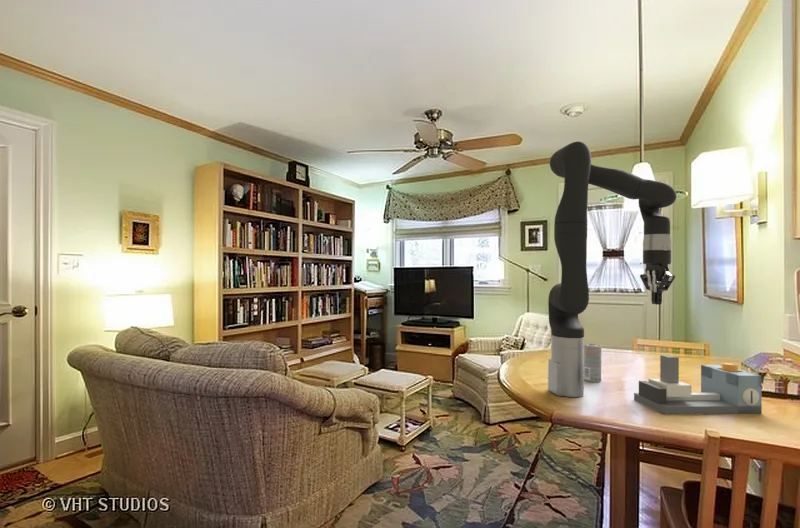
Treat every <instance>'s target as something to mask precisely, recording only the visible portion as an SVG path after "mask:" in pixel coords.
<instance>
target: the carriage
mask: <svg viewBox="0 0 800 528" xmlns="http://www.w3.org/2000/svg"><path fill="white" fill-rule="evenodd" d="M659 356H660V357H659V359H660V360H659V361H660V362H659V363H660V365H659V369H660V371H659V372H660V373H659V376H660V377H659V378H654V377H653V378H648V382H650V383H652V384H655V385H657V386H660V387H662V388H665V389H666V397H692V393H693V392H692V388H693V387H692V385H691V384H689V383H686V382H683V381H680V380H679V377H680V376H679V375H680V373H679V372H680V365H679V363H680V358H679V356H676V355H671V354H660V355H659Z"/></svg>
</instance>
